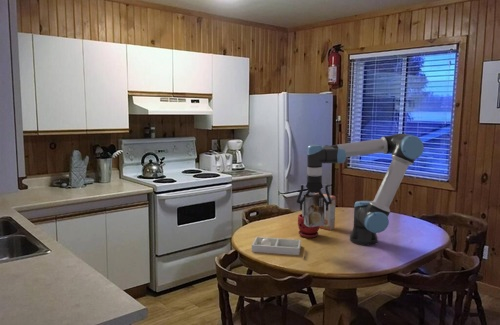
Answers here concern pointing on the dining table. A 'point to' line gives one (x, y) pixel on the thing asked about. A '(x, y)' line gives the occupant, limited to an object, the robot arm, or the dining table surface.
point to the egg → (265, 242)
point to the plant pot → (306, 228)
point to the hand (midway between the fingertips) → (313, 216)
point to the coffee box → (314, 210)
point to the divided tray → (277, 246)
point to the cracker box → (329, 214)
